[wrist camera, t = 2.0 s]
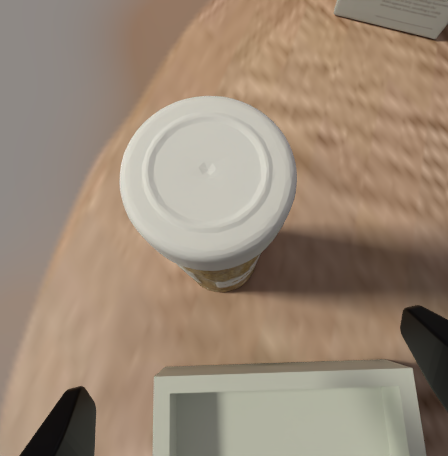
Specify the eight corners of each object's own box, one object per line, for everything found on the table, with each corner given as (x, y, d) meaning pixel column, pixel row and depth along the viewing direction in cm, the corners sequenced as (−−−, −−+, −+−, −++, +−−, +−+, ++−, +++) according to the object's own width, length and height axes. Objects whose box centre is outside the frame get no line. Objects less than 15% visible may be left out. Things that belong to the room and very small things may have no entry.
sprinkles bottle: (255, 293, 20) (302, 265, 7) (182, 291, 21) (102, 258, 8) (256, 222, 22) (299, 89, 9) (187, 220, 22) (124, 85, 9)
